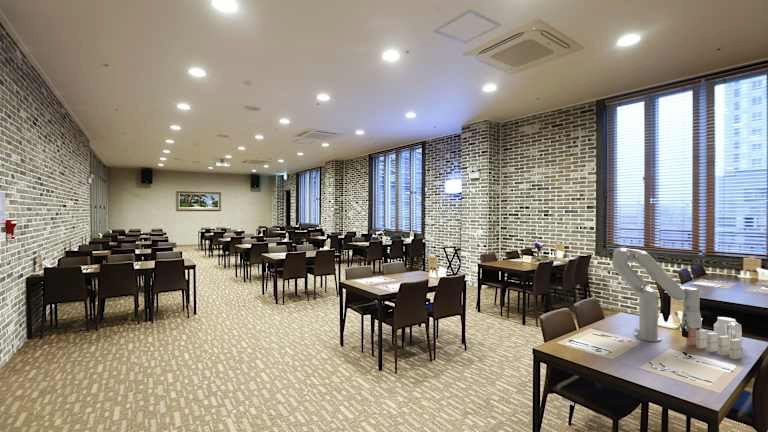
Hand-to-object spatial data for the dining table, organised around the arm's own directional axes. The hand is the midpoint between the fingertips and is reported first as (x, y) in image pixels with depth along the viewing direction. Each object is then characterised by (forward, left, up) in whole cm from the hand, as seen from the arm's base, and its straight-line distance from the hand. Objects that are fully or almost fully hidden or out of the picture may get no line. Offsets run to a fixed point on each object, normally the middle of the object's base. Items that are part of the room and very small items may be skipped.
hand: (690, 336), depth 219 cm
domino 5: (+22, 0, -5) cm, 23 cm away
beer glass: (+13, +14, -5) cm, 20 cm away
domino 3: (+11, 0, -5) cm, 12 cm away
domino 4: (+17, 0, -5) cm, 17 cm away
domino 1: (0, 0, -5) cm, 5 cm away
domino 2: (+6, 0, -5) cm, 7 cm away
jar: (+5, +22, -5) cm, 23 cm away
